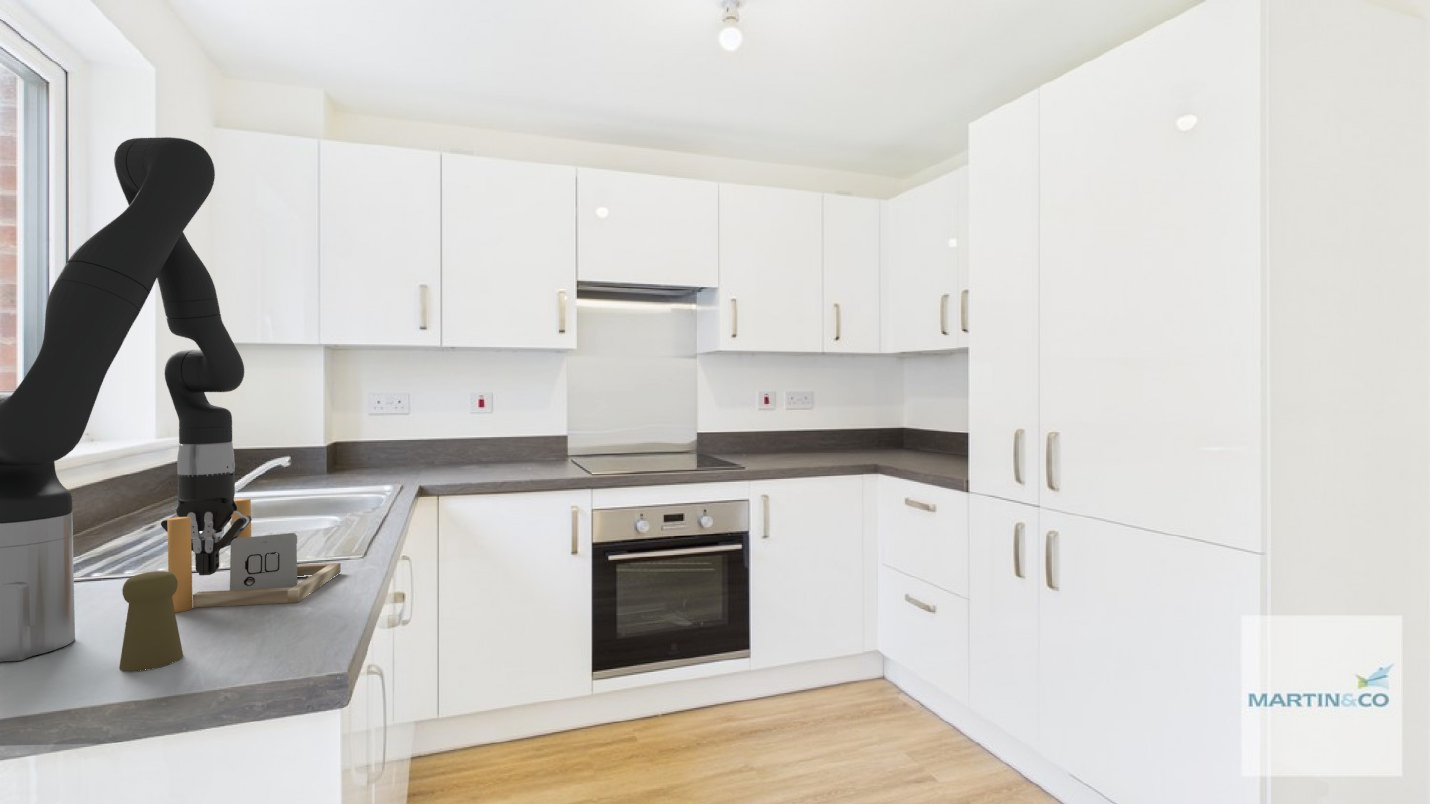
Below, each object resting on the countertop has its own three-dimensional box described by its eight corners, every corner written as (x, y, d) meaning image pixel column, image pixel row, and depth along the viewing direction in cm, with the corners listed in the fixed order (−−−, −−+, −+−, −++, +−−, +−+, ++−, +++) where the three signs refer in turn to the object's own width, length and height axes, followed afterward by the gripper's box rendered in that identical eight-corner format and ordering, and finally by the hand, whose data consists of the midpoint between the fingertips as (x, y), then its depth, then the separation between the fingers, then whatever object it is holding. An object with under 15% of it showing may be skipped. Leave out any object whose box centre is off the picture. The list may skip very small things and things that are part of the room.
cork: (195, 651, 85) (193, 566, 85) (157, 671, 79) (155, 580, 79) (147, 652, 85) (145, 567, 85) (105, 672, 79) (103, 580, 79)
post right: (246, 580, 117) (245, 501, 117) (229, 580, 117) (227, 501, 116) (255, 575, 120) (253, 498, 120) (238, 576, 119) (236, 499, 119)
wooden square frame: (298, 602, 105) (297, 589, 105) (193, 607, 102) (192, 594, 102) (340, 573, 121) (340, 562, 121) (250, 577, 119) (250, 566, 119)
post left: (185, 612, 100) (183, 520, 100) (164, 613, 100) (162, 520, 100) (196, 606, 103) (195, 516, 103) (176, 607, 103) (175, 517, 102)
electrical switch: (228, 598, 107) (228, 540, 108) (232, 592, 112) (232, 536, 112) (297, 589, 112) (296, 533, 112) (298, 584, 116) (298, 530, 117)
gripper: (146, 473, 105) (147, 582, 105) (237, 472, 107) (239, 578, 107) (176, 468, 112) (177, 569, 113) (261, 466, 114) (262, 566, 115)
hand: (207, 574), depth 110 cm, fingers closed
